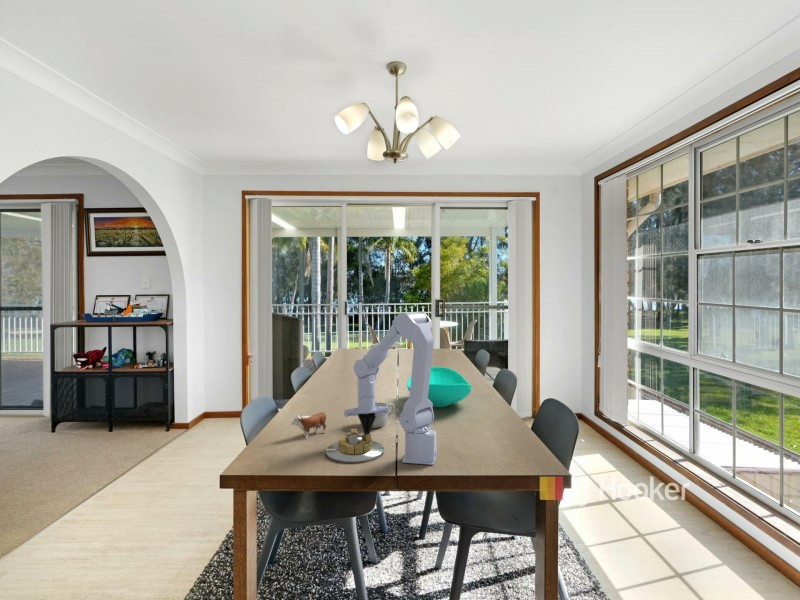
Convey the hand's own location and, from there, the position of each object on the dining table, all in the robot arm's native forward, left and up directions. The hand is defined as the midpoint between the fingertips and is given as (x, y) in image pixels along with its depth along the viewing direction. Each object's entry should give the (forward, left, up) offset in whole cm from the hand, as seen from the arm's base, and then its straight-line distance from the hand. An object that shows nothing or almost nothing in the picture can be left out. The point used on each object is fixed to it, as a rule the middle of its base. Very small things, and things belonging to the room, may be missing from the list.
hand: (366, 436), depth 152 cm
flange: (+1, +8, -2) cm, 9 cm away
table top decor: (-18, -53, -3) cm, 56 cm away
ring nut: (+1, +7, -1) cm, 7 cm away
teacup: (+1, -20, -3) cm, 20 cm away
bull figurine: (+21, -4, -3) cm, 22 cm away
